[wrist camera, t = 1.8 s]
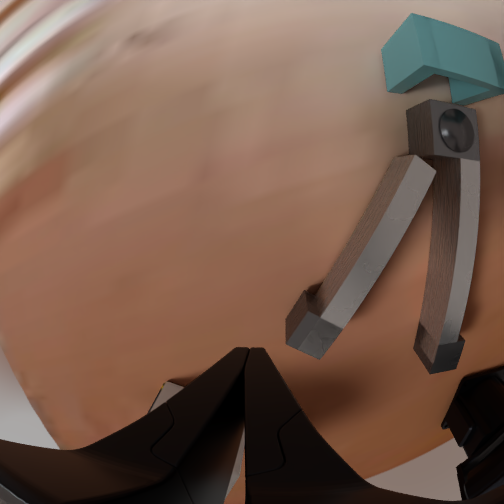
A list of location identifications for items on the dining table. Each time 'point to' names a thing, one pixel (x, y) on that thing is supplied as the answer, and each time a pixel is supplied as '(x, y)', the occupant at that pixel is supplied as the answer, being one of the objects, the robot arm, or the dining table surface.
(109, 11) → the dining table surface
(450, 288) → the tong frame
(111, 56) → the dining table surface
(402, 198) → the tong arm
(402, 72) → the teal notched block
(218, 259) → the dining table surface
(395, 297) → the dining table surface
